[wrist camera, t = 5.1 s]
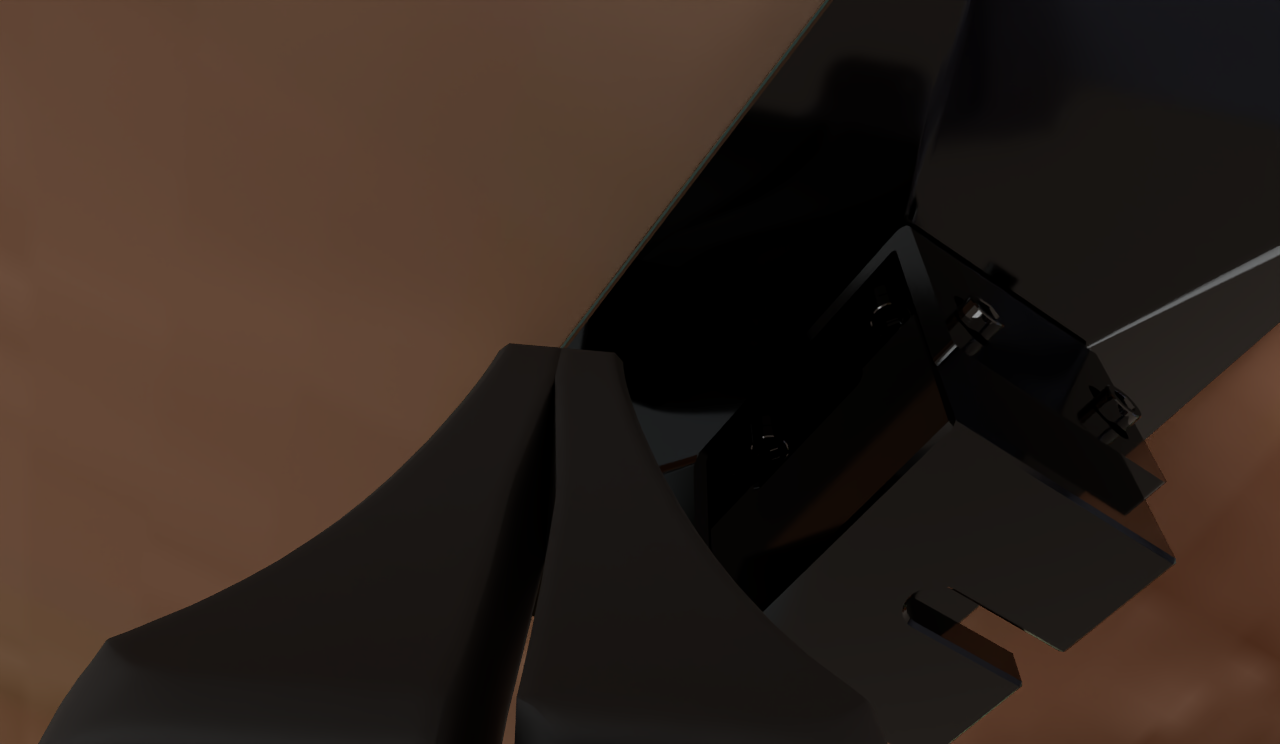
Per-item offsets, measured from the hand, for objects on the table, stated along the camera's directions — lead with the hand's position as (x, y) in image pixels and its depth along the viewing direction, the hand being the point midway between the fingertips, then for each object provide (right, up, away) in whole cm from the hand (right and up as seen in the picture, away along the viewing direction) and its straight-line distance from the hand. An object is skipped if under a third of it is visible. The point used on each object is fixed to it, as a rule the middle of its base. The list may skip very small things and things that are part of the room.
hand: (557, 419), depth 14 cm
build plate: (+4, +1, +2) cm, 5 cm away
